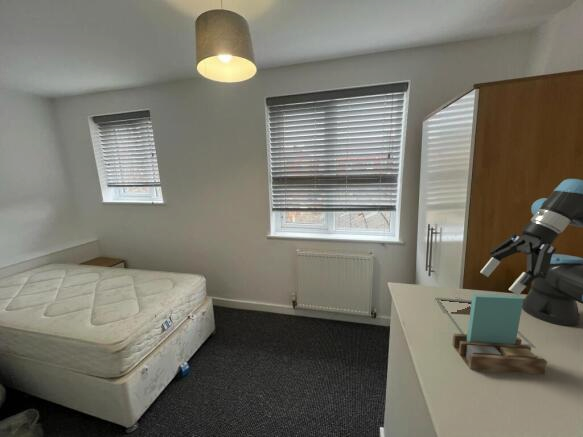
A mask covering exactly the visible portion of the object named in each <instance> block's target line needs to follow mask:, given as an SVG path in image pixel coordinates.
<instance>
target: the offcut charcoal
mask: <svg viewBox="0 0 583 437" xmlns="http://www.w3.org/2000/svg"><path fill="white" fill-rule="evenodd" d="M470 354H484V355H499V356H501V355H502V354H501V353H500V352H499V351H498V350H497V349H496V348H495V347H491V346H476V345H467V350H466V358H467V360H468V361H469V356H470Z"/></svg>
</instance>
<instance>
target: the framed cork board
mask: <svg viewBox="0 0 583 437" xmlns="http://www.w3.org/2000/svg"><path fill="white" fill-rule="evenodd" d="M458 298H459V299H453V298H448V297H447V298H444V297H434V299H435V300H436V301H437V303H438V304H439V305H438V304H437V303H436V304H437V305H438V307H439V306H440V307H441V308H440V307H439V308H440V310H441V309H442V310H443V311H442V310H441V311H442V313H443V314H444V313H445V314H446V315H447V316H448V318H449V319H450V321H451V322H452V324H454V326H455V327H456V329H457V330H458V332H459V334H465V333H464V331H463V329H461V328H460V326H459V324H458V323H457V322H456V321H455V319H454V318H453V317H452V315H462V316H463V315H466V316H467V315H468V316H470V311H471V307H470V306H469V307H467V308H465V309H462V310H457V312H451V314H449V313H448V311H447V310H446V309H445V307H444V306H443V305H442V303H441V302H440V301H439V300H441V301H449V302H459V303H468V304H471V303H472V299H471V300H470V299H469V300H468V299H462V298H460V297H458ZM460 299H461V300H460ZM435 300H434V301H435ZM436 301H435V302H436ZM445 314H444V315H445ZM517 335H519V336H520V338H521V339H523V340H524V341H525V342H526V343H522V342H521V345H528V346H530V347H531V348H536V346H535V345H534V344H533V343H532V342H531V341H529V339H528V338H526V337H525V336H524V335H523V334H522V333H521V332H520V331H519V330H518V332H517Z"/></svg>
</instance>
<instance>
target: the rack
mask: <svg viewBox="0 0 583 437" xmlns="http://www.w3.org/2000/svg"><path fill="white" fill-rule="evenodd" d="M452 337H453V338H452V343H451V345H452V347H453V348H454V350H455V351H456V352H457V354H458V355H459V357H460V358H461V359H462V361H463V362H464V363H465V365H466V366H467V367H468V368H469V370H476V371H488V372H489V371H491V372H501V373H502V372H503V373H512V374H513V373H515V374H527V375H528V374H529V375H540V376H541V375H542V376H544V375H546V369H547V364H548V361H547V360H546V359H545V358H541V357H539V358H538V357H537V358H527V357H513V356H499V355H484V354H470V356H469V361H468V360H467V358H466V350H467V345H476V346H491V347H495V348H496V349H497V350H498V351H499V352H500V347H507V348H522V349H529V350H530V351H531V352H532V347H530V346H528V345H521V343H522V338H521V337H517V338H516V344H515V345H513V344H498V343H482V342H467V333H464V334H461V333H453V336H452Z"/></svg>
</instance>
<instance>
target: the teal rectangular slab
mask: <svg viewBox="0 0 583 437" xmlns="http://www.w3.org/2000/svg"><path fill="white" fill-rule="evenodd" d="M471 296H472V297H471V300H472V303H471V311H470V315H469V320H468V327H467V332H466V334H467V342H482V343H498V344H513V345H515V344H516V338H517V336H518V333H517V332H518V331H519V325H520V321H521V320H520V319H521V315H522V310H523V309H522V304H523V299H524V298H523V297H521V296H520V295H507V294H505V295H504V294H486V293H483V294H482V293H481V294H480V293H472V295H471Z"/></svg>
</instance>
